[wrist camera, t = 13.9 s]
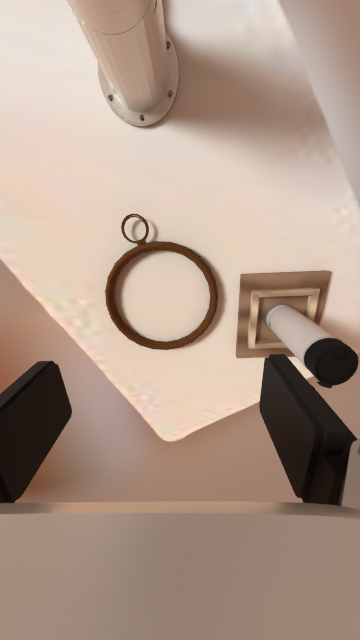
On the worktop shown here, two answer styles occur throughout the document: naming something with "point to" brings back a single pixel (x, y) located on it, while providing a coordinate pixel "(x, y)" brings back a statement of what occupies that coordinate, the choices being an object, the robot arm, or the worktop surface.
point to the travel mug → (313, 345)
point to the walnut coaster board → (266, 292)
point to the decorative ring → (149, 247)
